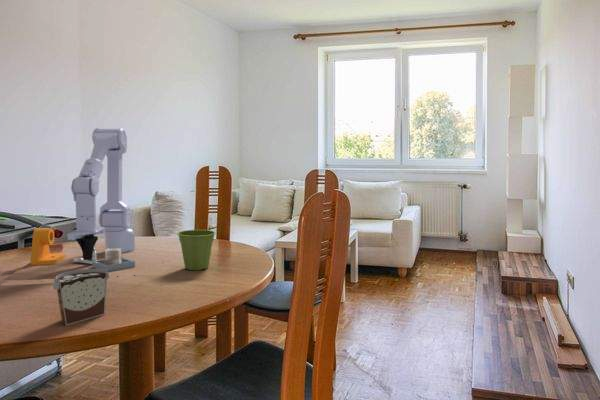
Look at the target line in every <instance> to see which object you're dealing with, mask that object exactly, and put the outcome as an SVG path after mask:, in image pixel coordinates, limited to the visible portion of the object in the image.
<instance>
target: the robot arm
mask: <svg viewBox="0 0 600 400" xmlns="http://www.w3.org/2000/svg"><path fill="white" fill-rule="evenodd" d="M91 137H92V139H91V140H92V142H93V143H92V144H93V148H92V152H91V155H90V157H89V158H87V159H85V160H84V163H83V165H82V168H81V170H80V173H79V174H78V176H76V177H75V178H74V179H73V180H72V181H71V186H70V188H71V189H70V190H71V193H72V195H73V201H74V202H75V223H76V224H75V225H76V230H74V231H72V232H68V233H67V240H68V241H76V242H77V243H78V245H79V247H80V249H81V251H82V258H83V259H84V260H92V252H93V248H95V245H96V243H97V241H98V239H99V238H98V237H99V236H96V235H100V234H104V244H105V245H104V248H105V250H104V252H105V251H106V250H107V249H110V248H121V254H122V253H127V252H134V251H135V250H136V246H135V245H136V242H135V232H134V231H133V229H132V228H130V227H131V225H132V214H131V207H130V206H129V205H127V203H125V202H123V154H125V153H127V149H128V146H127V145H128V139H127V138H128V136H127V134H126V131H125V130H124V128H122V127H121V128H98V127H96V128H94V130H93V131H92V135H91ZM105 157H107V158H106V159H107V160H106V161H107V162H106V163H107V168H106V170H107V171H106V173H107V175H106V176H107V178H106V181H107V183H106V185H107V186H106V187H107V188H106V193H107V195H106V197H107V198H106V202H105V203H104V204H103V205H101V206H100V207H99V215H98V219H97V202H96V200H97V199H96V198H97V197H96V196H97V195H98V193H99V189H100V177H101V174H102V172H103V171H104V165H103V161H104V159H105ZM97 221H98V225H99V226H98V225H97ZM97 226H98V227H97Z"/></svg>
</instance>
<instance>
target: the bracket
mask: <svg viewBox="0 0 600 400" xmlns="http://www.w3.org/2000/svg"><path fill="white" fill-rule="evenodd" d="M54 242H55V230H54V229H53V228H52V227H42V228H41V227H38V228H37V227H36V228H34V229H33V232H32V242H31V250H30V251H31V254H30V266H43V265H44V266H46V265H57V264H58V263H60V262H61V261H63V260H65V259H66V258H67V257H66V256H67V255H66V253H51V250H50V246H52V245H53V244H54Z"/></svg>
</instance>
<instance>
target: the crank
mask: <svg viewBox="0 0 600 400" xmlns="http://www.w3.org/2000/svg"><path fill="white" fill-rule="evenodd" d="M97 251H98V250H97V248H95V247H94V248H93V252H92V260H84V259H83V257H74V258H72V262H73V263H74V264H76V263H77V264H79V263H84V264H92V261H97V259H98V257H97Z"/></svg>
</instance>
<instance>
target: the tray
mask: <svg viewBox="0 0 600 400" xmlns="http://www.w3.org/2000/svg"><path fill="white" fill-rule="evenodd" d="M121 259H122V263H118V264H111V265H105V259H101V260H96V261H92V263H91V267H92V268H93V269H105V270H107V272H108V273H110V272H113V271H119V270H125V269H131V268H136V261H135V260H132V259H129V258H126V257H122V256H121Z"/></svg>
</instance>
